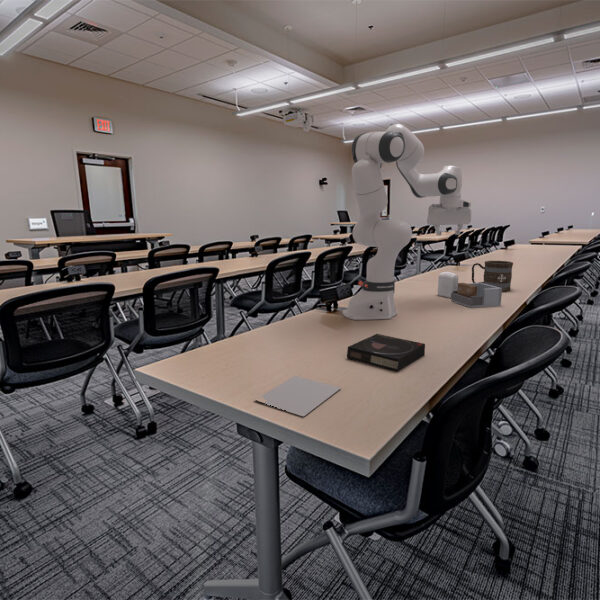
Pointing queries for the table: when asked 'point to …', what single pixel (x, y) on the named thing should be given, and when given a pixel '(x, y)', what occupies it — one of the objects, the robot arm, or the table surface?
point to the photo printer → (447, 284)
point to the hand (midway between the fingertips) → (448, 235)
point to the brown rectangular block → (466, 290)
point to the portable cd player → (386, 352)
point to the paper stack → (299, 395)
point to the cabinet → (480, 296)
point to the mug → (496, 274)
